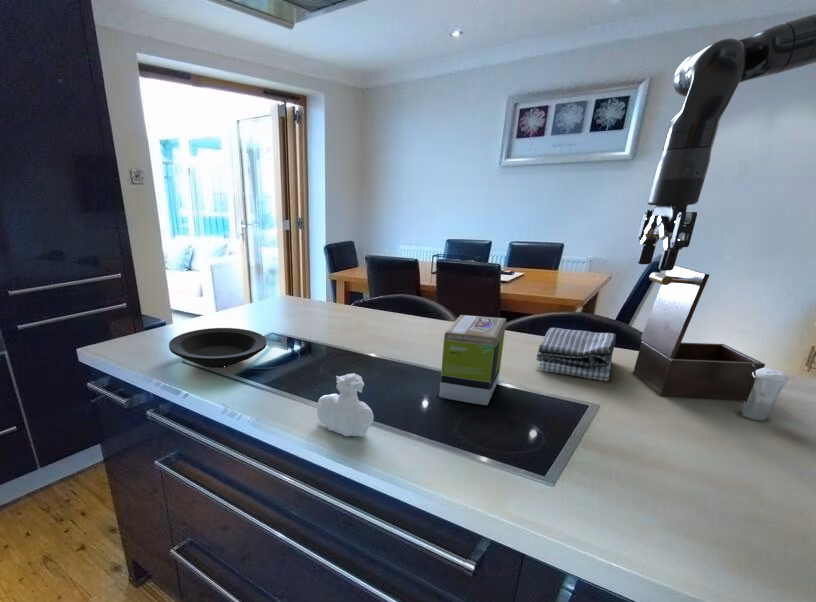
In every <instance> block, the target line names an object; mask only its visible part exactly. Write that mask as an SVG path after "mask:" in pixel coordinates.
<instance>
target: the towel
mask: <svg viewBox="0 0 816 602" xmlns="http://www.w3.org/2000/svg"><path fill="white" fill-rule="evenodd" d="M616 341H617V335H616V334H615V333H612V332H593V331H589V330H577V329H575V330H574V329H567V328H565V329H564V328H560V327H559V328H558V327H550V328H548V330H547V331H546V333H545V335H544V337H543V339H542V340H541V342H540V344H539V345H538V350H537V352H536V358H535V359H536V361H537V362H539V370H540V371H543V372H550V373H556V374H561V375H566V376H567V375H568V376H575V377H579V378H580V377H581V378H585V379H589V380H590V379H592V380H597V381H603V382H608V381H609V380H610V374H611V373H610V371H611V369H612V361H613V354H614V349H615V346H616Z"/></svg>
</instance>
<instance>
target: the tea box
mask: <svg viewBox="0 0 816 602" xmlns="http://www.w3.org/2000/svg"><path fill="white" fill-rule="evenodd" d="M506 325H507V318H504V317H491V316H480V315H466V314H460V315H459V316H458V317H457V318H456V319H455V321H454V322H453V323H452V324H451V325H450V326H449V327H448V328H447V329H446V331H445V332H444V335H443V345H442V356H441V357H442V358H441V368H440V369H441V370H440V383H439V393H438V394H439V395H438V396H439V397H440V399H446V400H450V401H451V400H452V401H457V402H463V403H469V404H474V405H480V406H488V405H489V402H490V400H491V398H492V396H493V393H494V391H495V389H496V386H497V385H498V382H499V378H500V371H501V365H502V357H503V356H502V355H503V354H502V353H503V348H504V341H505V333H506Z"/></svg>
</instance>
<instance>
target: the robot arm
mask: <svg viewBox="0 0 816 602" xmlns="http://www.w3.org/2000/svg"><path fill="white" fill-rule="evenodd" d="M814 64H816V13H813V14H809V15H806V16H802V17H799V18H796V19H792V20H790V21H785V22H782V23H780V24H776V25H774V26H771V27H768V28H766V29H764V30H761V31H760V32H757V33H755V34H753V35H750V36H748V37H745V38H742V39H737V38H725V39H724V38H723V39H720V40H718V41H716V42H713V43H711V44H709V45H708V46H704V47H703V48H701V49H699V50H698V51H696V52H694V53H692V54H690V55H689V56H688V57H687V58H685V59H684V60H683V61H682V62H681V64H679V66H678V67H677V69H676V71H675V73H674V74H673V79H672V86H673V89H674V91H675V92H676V93H677V94H678V95H680V96H681V97H685V100H684V102H683V105H682V107H681V109H680V111H679V112H678V113H677V114H676V115H675V116H673V118H671V120H670V122H669V124H668V127H667V130H666V134H665V138H664V141H663V144H662V145H663V146H662V150H661V153H660V155H659V158H658V161H657V162H656V167H655V170H654V174H653V178H652V182H651V186H650V189H649V193H648V197H647V201H646V202H647V205H648V206H655V207H654V209H646V210H644V212H643V216H642V219H641V223H640V226H639V230H638V233H637V237H636V240H637V241H639V244H640V245H641V248H640V251H639V254H638V259H637V264H638V265H651V263H652V262H653V257H654V254H655V251H656V248H657V247H656V246H657V245H656V244H657V243H658V241H659V240H661V241H662V242H663V250H662V254H661V257H660V260H659V264H658V270H659V271H661V272H666V271H671V270H673V269H674V265H676V261H677V258H678V255H679V251H681V250H682V249H684V248H688V247H689V246H690V243H691V240H692V236H693V232H694V228H695V224H696V221H697V217H698V212H697V211H688V206H690V205H691V206H692V205H696V204H697V203H699V199H700V196H701V194H702V193H701V192H702V189H703V186H704V183H705V180H706V176H707V172H708V169H709V167H710V166H709V165H710V162H711V156H712V150H713V146H714V142H715V141H716V136H717V133H718V129H719V125H720V121H721V118H722V116H723V115H724V113H725V111H726V110H727V108H728V106H729V105H730V102H731V100H732V98H733V96H734V94H735V92H736V91H737V89H738V86H739V84H741V83H744V82H747V81H750V80H751V81H752V80H755V79H756V80H757V79H760V78H765V77H770V76H771V77H772V76H775V75H778V74H783V73H786V72H789V71H792V70H796V69H799V68H803V67H806V66H811V65H814Z"/></svg>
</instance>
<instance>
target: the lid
mask: <svg viewBox="0 0 816 602" xmlns="http://www.w3.org/2000/svg"><path fill="white" fill-rule="evenodd" d="M648 278H649V280H650V281H652V282H654V283H657V284H660V287H659V290H658V292H657V295H656V298H655V301H654V303H653V305H652V308H651V311H650V314H649V315H648V318H647V321H646V324H645V326H644V329H643V332H642V334H641V337H640V340H641V341H645V342H646V343H648V344H649V345H651V346H653V347H654V348H656V349H657V350H659V351H660V352H662V353H664V354H665V355H667V356H668V357H670V358H675V356H676V353H677V351H678V349H679V346H680V344H681V343H683V340H684V337H685V334H686V332H687V331H688V327H689V324H690V322H691V321H692V318H693V315H694V313H695V312H696V308H697V306H698V304H699V301H700V300H701V296H702V294H703V293H704V289H705V287H706V285H707V282H708V280H709V278H710V274H709V273H706V272H702V271H699V270H696V269H695V270H694V269H691V268H687V267H684V266H680V265H676V264H675V265H674V269H673V270H671V271H665V274H663V273H661V272H658V271H653V272H651V273H650V275H649V276H648Z"/></svg>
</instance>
